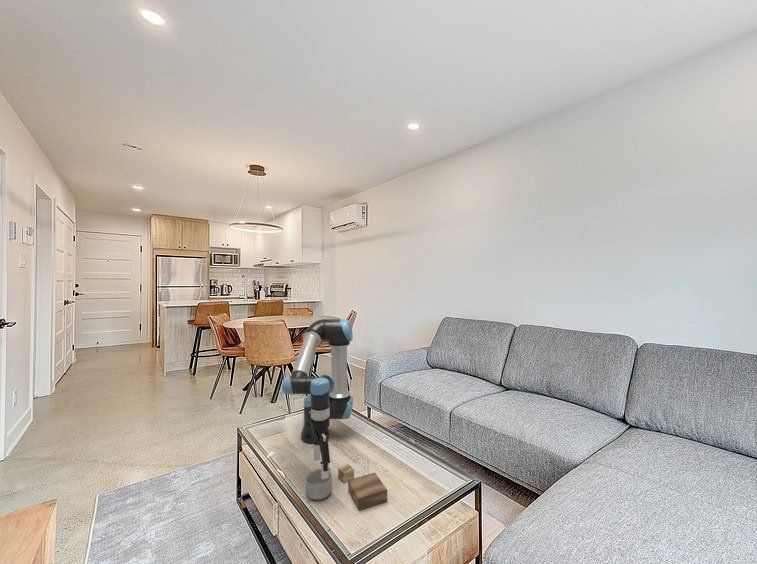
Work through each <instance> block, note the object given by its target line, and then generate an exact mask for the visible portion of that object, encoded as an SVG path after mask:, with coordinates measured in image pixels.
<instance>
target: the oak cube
mask: <svg viewBox="0 0 757 564" xmlns="http://www.w3.org/2000/svg"><path fill="white" fill-rule="evenodd" d="M337 476H338V479H339V480H340V481H341V482H342V483H344V484H346V483H347V482H348V480H350V479H353V478H355V468H354V467H352V466H351V465H350V464H349V463H346V464H344V465H342V466H339V467H338V468H337Z"/></svg>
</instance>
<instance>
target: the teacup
mask: <svg viewBox="0 0 757 564" xmlns="http://www.w3.org/2000/svg"><path fill="white" fill-rule="evenodd" d="M332 474H333V473H332V472H331V467H330V466H329V478H326V479H321V468H318V469H314V470H312V471H309V472H308V473H307V474H306V475H305V477H304V483H305V492H306V495H307V496H308V498H310V499H311V500H314V501H321V500H324V499H325V498H327V496H329V495H330V494H331V492H332V489H333V480H332V479H333V475H332Z"/></svg>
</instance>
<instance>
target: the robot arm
mask: <svg viewBox="0 0 757 564" xmlns="http://www.w3.org/2000/svg"><path fill="white" fill-rule="evenodd" d="M353 339H354V338H353V327H352V324H351V321H350V320H349V319H341V318H338V319H337V318H335V319H333V318H332V319H331V318H329V319H324V318H322V319H318V320H316V321H314V322H313V323H311V325H309V326H308V327H307V329H305V331H304V332H303V335H302V344H301V347H300V349H299V353H298V356H297V358H296V360H295V364H294V367H293V369H292V371H291V375H287V376H285V377H283V379H282V383H281V384H282V385H281V390H282V393H284V394H286V395H306V396H305V398H304V400H303V427H302V428H301V432H300V440H301V441H302V442H303V443H306V444H310V445H312V444H313V447H312V448H313V462H316V461H320V460H321V461H320V462H319V464H320V469H321V479H326V478H329V467H330V466H329V464H331V458H330V448H329V437H330V430H329V427H330V423H331V422H330V420H340V421H341V420H348V419H350V418H351V415H352V411H353V404H354V397H353V396H352V395H351V392H350V390H348V347H349V346H350V345H351V343H350V342H353ZM321 342H328V343H327V344H328V346H329V347H330V355H331V356H330V358H331V359H330V361H331V365H330V366H331V367H330V368H331V369H330V371H331V374H329V373H325V374H324V373H323V374H322V375H320V376H310V375H309V374H310V371H311V368H312V365H313V362H314V359H315V355H316V353H317V349H318V346H319V345H320V344H321Z"/></svg>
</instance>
